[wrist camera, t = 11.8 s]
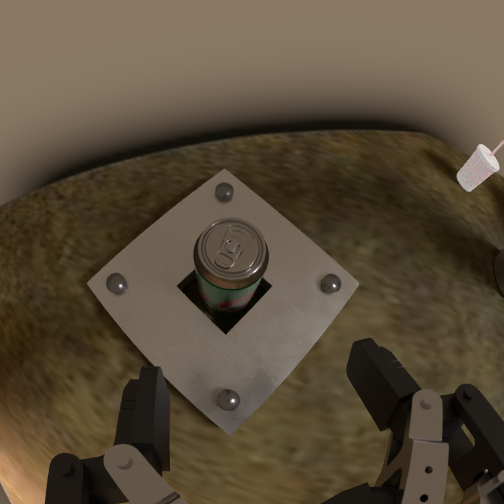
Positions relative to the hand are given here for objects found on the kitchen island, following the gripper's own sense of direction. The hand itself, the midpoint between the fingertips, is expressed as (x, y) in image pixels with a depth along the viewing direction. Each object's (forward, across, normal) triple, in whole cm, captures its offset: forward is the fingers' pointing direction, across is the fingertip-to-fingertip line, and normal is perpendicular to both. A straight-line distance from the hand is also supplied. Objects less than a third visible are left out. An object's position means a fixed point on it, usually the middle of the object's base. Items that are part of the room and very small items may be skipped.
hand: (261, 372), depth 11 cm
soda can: (+17, 0, +6) cm, 18 cm away
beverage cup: (+29, -49, -5) cm, 57 cm away
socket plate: (+17, 0, +6) cm, 18 cm away
